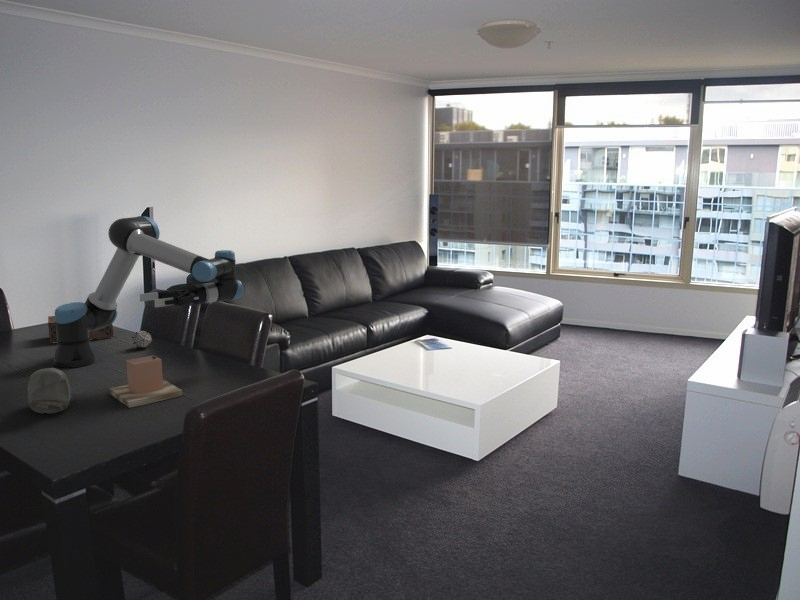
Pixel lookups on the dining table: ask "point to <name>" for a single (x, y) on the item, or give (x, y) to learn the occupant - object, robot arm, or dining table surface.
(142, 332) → the game die
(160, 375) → the notched tan block
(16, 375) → the dining table surface
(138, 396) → the base
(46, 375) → the decorative stone
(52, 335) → the tissue box cover
